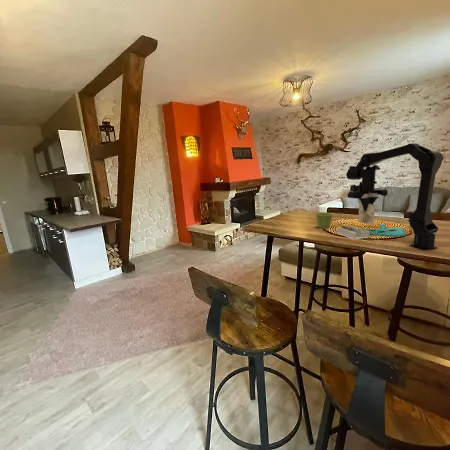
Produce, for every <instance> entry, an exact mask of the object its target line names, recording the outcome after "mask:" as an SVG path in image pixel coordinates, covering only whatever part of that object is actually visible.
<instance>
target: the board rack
mask: <svg viewBox="0 0 450 450" xmlns="http://www.w3.org/2000/svg"><path fill="white" fill-rule="evenodd" d="M346 226H347V227H355V228H358V229H360V237H356V233H355V232H352V231H349V230H346V229H343V228H341V226H340V227H339V226H336V232H334V233H336V234H339V235H341V236H343V237H346V238H349V239H351V240H360V239H367V238H370V236H371V235H370V231H367V230H364V229H365V228H364V229H361V227H357V226H355V225H352V224H351V225H349V226H348V225H346Z"/></svg>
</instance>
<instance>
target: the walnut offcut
mask: <svg viewBox="0 0 450 450" xmlns="http://www.w3.org/2000/svg"><path fill="white" fill-rule="evenodd" d="M347 226H348V225H341V226H340V228H343V229H346V230H349V231H351V228H350V227H349V226H348V227H347Z"/></svg>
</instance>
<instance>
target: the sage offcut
mask: <svg viewBox="0 0 450 450" xmlns="http://www.w3.org/2000/svg"><path fill="white" fill-rule="evenodd" d="M355 227H356V226H354V227H350V228H351V231H352V232H355V233H356V237H360V229H358V228H359V227H358V228H355Z"/></svg>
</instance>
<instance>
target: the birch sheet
mask: <svg viewBox="0 0 450 450" xmlns="http://www.w3.org/2000/svg"><path fill="white" fill-rule="evenodd" d="M375 207H376V204H374V203H373V204H368V207H367V210H366V211H364V209H363V206H362V203H361V202H359V205H358V222H359V223H363V224H367V225H370V226H372V225H374V224H375V223H374V221H375Z"/></svg>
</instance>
